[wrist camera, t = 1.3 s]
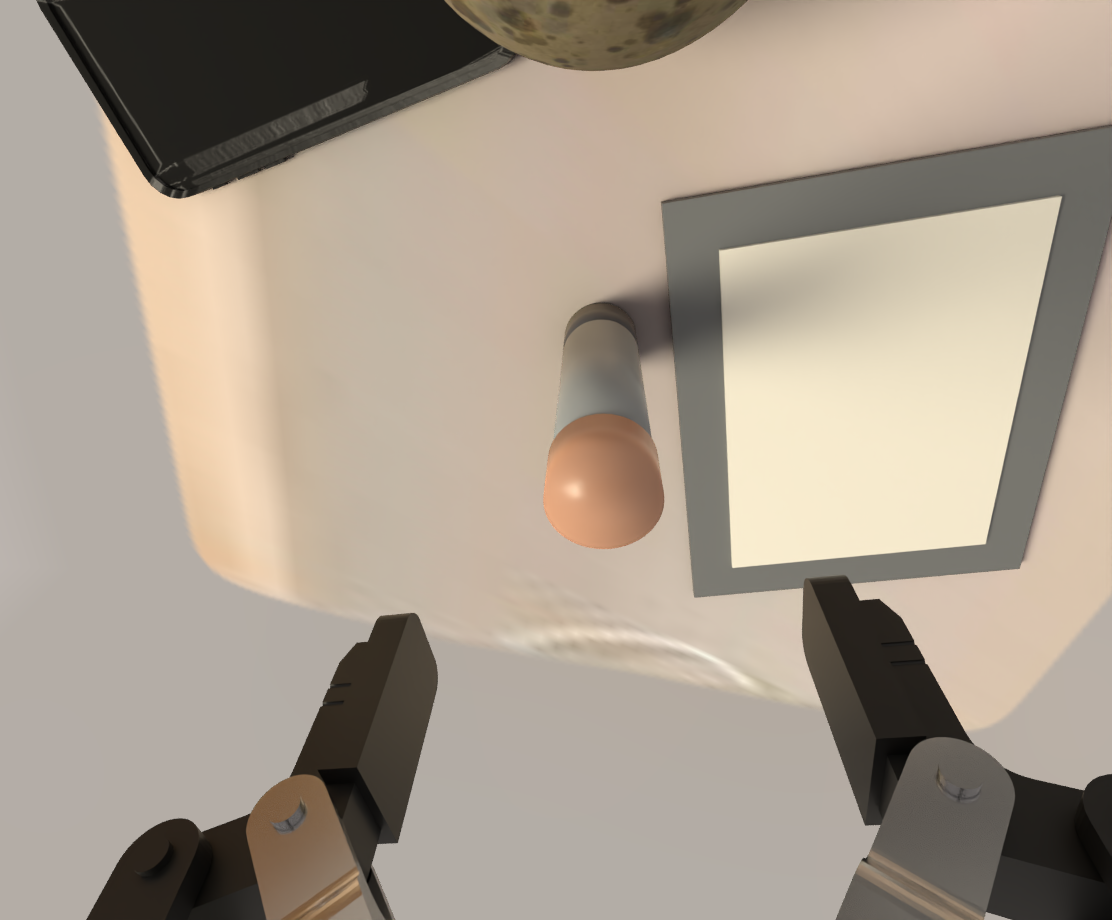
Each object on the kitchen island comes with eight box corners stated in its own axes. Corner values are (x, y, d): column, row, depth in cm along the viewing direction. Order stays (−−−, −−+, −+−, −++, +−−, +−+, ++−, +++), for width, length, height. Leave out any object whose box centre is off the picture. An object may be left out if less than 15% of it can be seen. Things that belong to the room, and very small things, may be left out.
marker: (556, 306, 27) (533, 458, 16) (633, 295, 26) (658, 442, 16) (568, 377, 28) (554, 554, 18) (641, 366, 28) (669, 542, 18)
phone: (15, -33, 21) (430, -260, 18) (40, -28, 22) (439, -243, 19) (165, 210, 25) (529, 59, 21) (181, 204, 26) (532, 59, 22)
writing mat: (661, 201, 24) (662, 205, 24) (1127, 122, 22) (1140, 123, 22) (693, 592, 35) (695, 600, 34) (1015, 563, 32) (1021, 571, 32)
